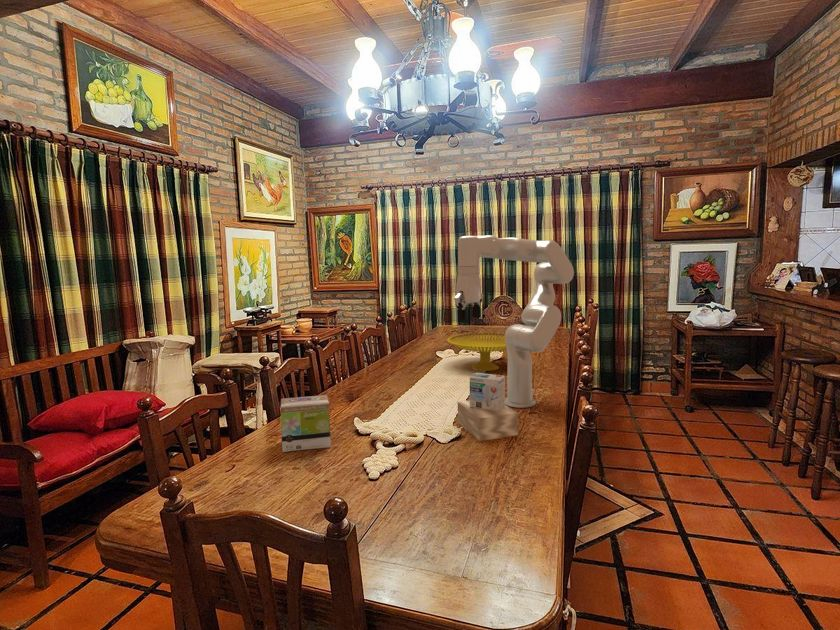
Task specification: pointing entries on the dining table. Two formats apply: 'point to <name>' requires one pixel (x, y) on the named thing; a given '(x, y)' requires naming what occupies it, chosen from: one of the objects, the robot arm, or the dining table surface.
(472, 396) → the light bulb box
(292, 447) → the tea box
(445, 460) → the dining table surface
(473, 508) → the dining table surface
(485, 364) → the cake stand
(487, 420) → the birch block
